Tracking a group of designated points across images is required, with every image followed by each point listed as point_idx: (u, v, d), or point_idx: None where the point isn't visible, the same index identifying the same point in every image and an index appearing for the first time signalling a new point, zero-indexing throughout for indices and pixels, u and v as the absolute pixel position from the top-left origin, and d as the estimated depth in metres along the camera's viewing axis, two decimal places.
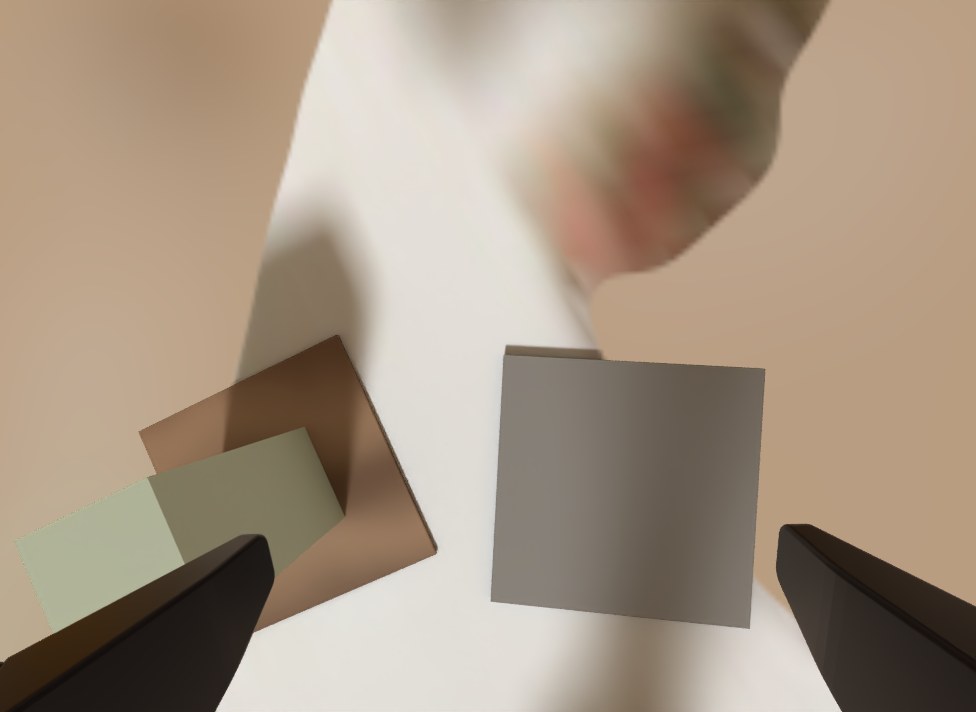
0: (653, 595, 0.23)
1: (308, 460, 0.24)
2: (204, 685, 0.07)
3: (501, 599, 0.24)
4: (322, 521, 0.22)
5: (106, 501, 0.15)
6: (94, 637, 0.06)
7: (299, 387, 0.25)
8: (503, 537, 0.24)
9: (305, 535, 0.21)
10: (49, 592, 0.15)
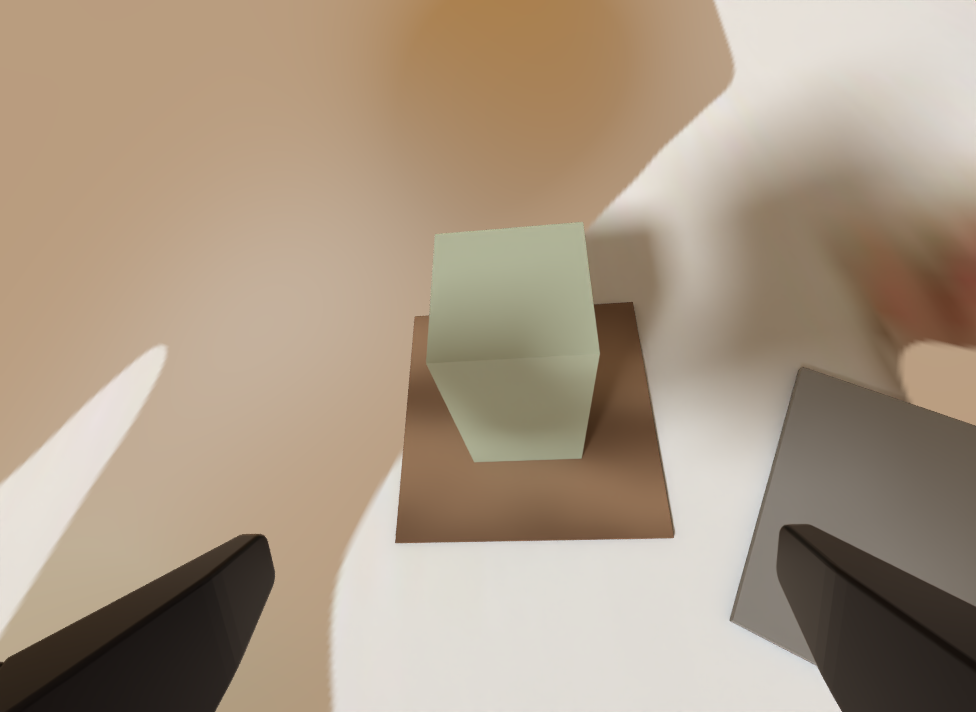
0: None
1: None
2: (204, 685, 0.07)
3: (747, 624, 0.18)
4: None
5: (535, 229, 0.16)
6: (94, 637, 0.06)
7: None
8: (766, 547, 0.20)
9: None
10: (446, 277, 0.16)
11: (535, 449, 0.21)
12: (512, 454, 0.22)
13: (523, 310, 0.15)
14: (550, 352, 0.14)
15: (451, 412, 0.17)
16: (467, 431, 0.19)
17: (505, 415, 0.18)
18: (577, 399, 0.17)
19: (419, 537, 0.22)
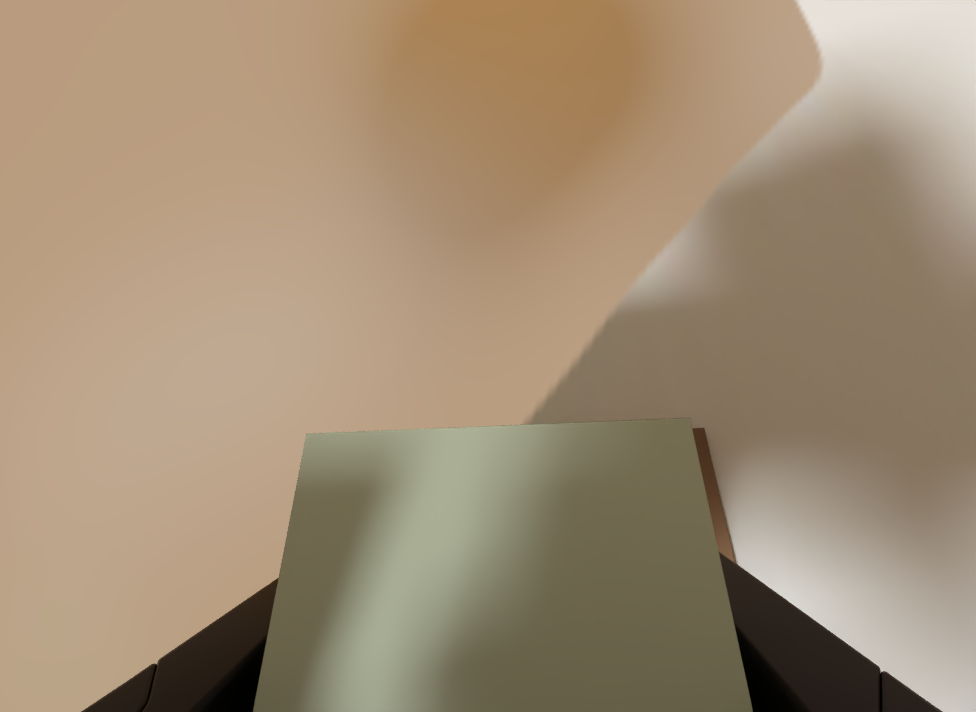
0: None
1: None
2: None
3: None
4: None
5: (562, 433, 0.06)
6: (241, 638, 0.06)
7: None
8: None
9: None
10: (314, 591, 0.06)
11: None
12: None
13: None
14: None
15: None
16: None
17: None
18: None
19: None
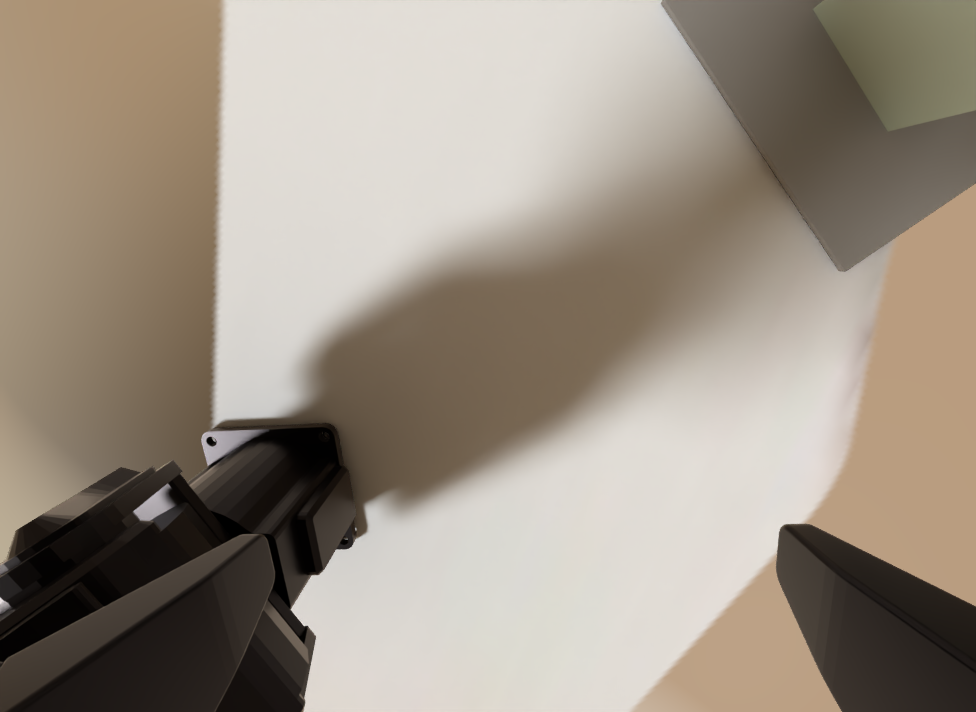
0: (811, 158, 0.18)
1: None
2: (204, 685, 0.07)
3: (675, 8, 0.17)
4: None
5: None
6: (94, 637, 0.06)
7: None
8: None
9: None
10: None
11: (889, 68, 0.15)
12: (860, 46, 0.16)
13: None
14: None
15: None
16: None
17: None
18: None
19: None
